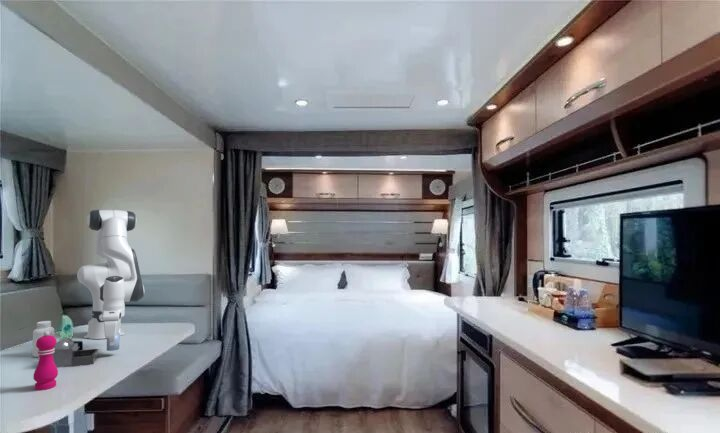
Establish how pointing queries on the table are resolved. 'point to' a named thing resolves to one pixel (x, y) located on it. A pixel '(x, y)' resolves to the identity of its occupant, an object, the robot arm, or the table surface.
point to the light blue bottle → (116, 345)
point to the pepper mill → (45, 363)
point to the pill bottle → (41, 334)
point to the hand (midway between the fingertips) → (113, 343)
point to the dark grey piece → (72, 354)
